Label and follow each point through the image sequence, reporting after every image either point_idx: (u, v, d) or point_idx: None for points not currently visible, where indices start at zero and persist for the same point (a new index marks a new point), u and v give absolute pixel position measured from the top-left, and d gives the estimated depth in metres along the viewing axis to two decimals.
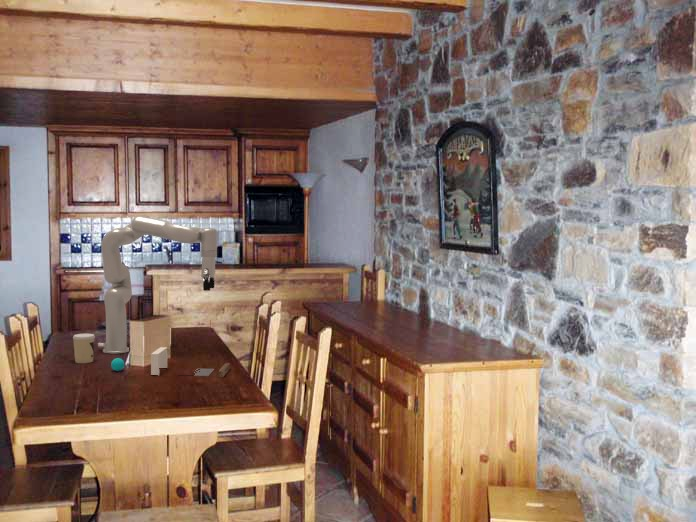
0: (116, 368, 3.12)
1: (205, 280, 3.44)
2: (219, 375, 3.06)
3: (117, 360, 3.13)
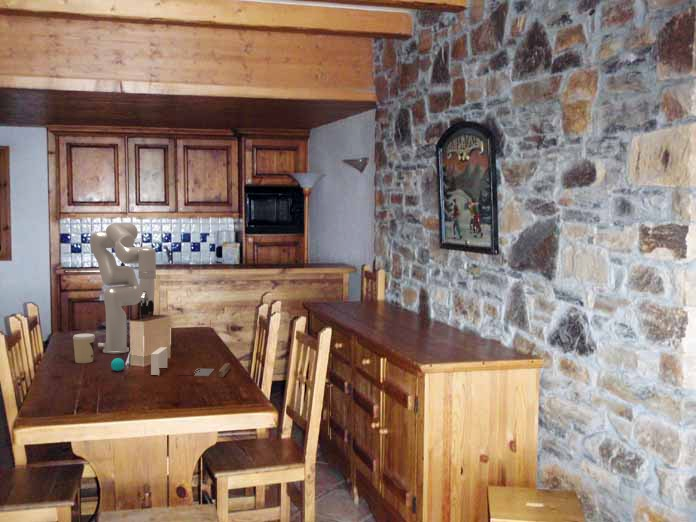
0: (116, 368, 3.12)
1: (143, 304, 3.22)
2: (219, 375, 3.06)
3: (117, 360, 3.13)
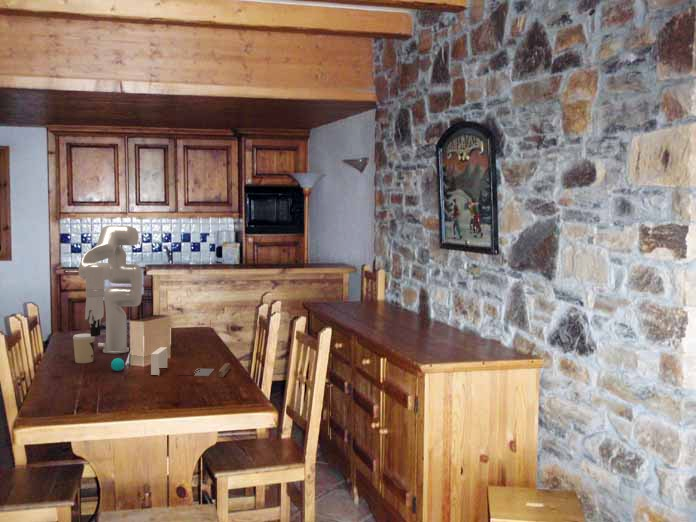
0: (116, 368, 3.12)
1: (92, 325, 3.10)
2: (219, 375, 3.06)
3: (117, 360, 3.13)
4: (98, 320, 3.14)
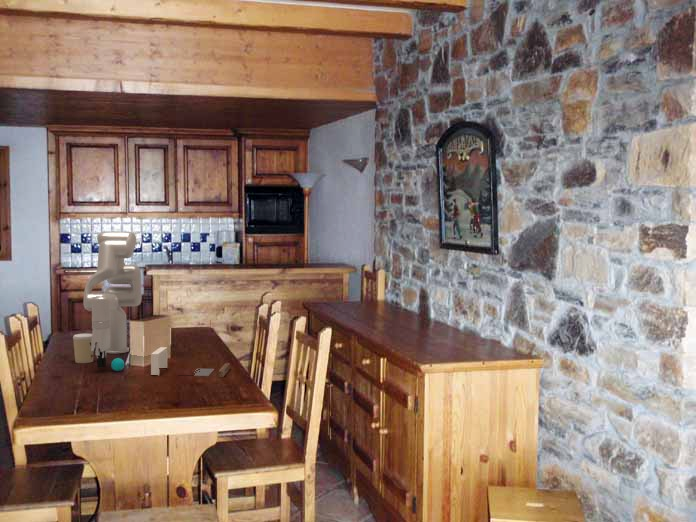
0: (116, 368, 3.12)
1: (98, 356, 3.12)
2: (219, 375, 3.06)
3: (117, 360, 3.13)
4: (104, 351, 3.15)
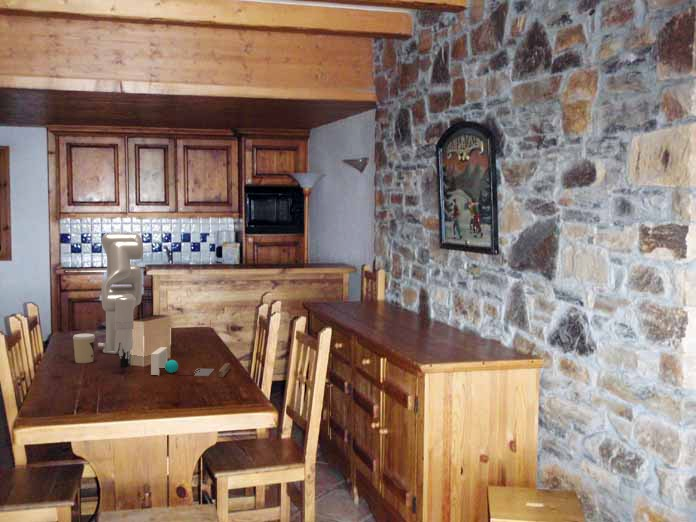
0: (166, 367, 3.10)
1: (122, 357, 3.12)
2: (219, 375, 3.06)
3: (174, 370, 3.11)
4: (127, 352, 3.15)
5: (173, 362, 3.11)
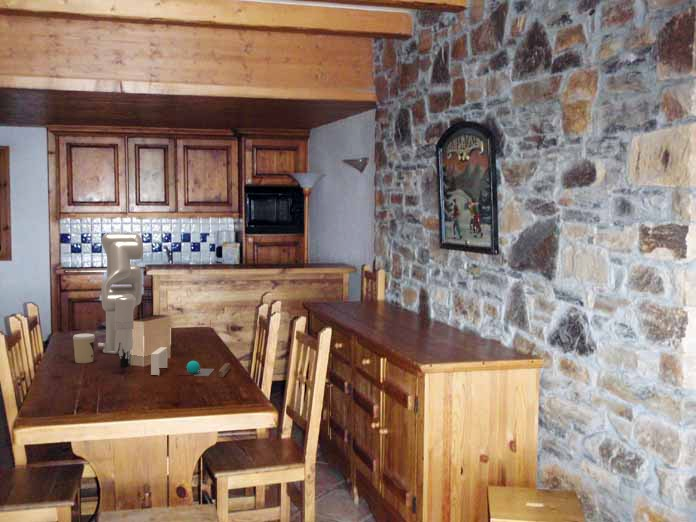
0: (194, 369, 3.09)
1: (122, 357, 3.12)
2: (219, 375, 3.06)
3: (189, 363, 3.10)
4: (127, 352, 3.15)
5: (188, 371, 3.11)
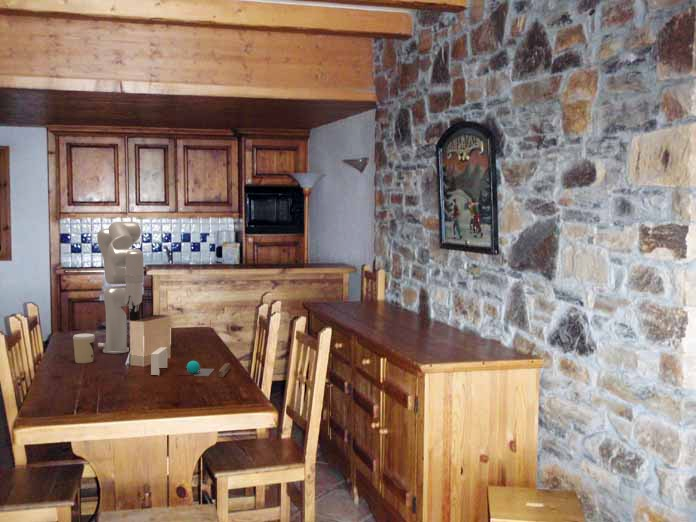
0: (194, 369, 3.09)
1: (131, 310, 3.20)
2: (219, 375, 3.06)
3: (189, 363, 3.10)
4: None
5: (188, 371, 3.11)
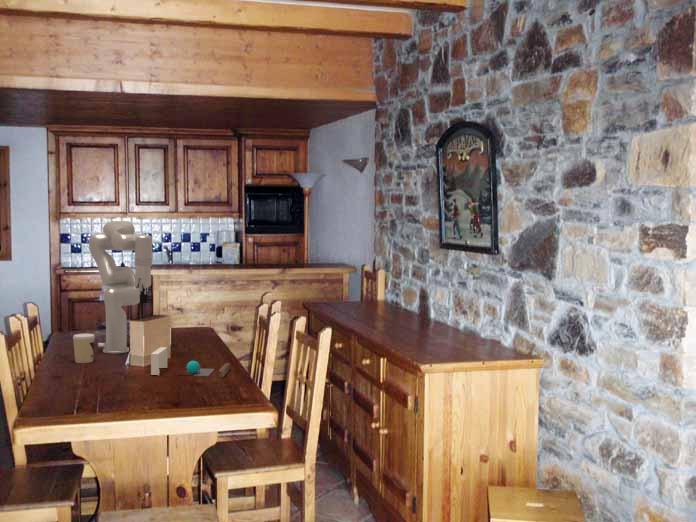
0: (194, 369, 3.09)
1: (141, 292, 3.28)
2: (219, 375, 3.06)
3: (189, 363, 3.10)
4: (146, 288, 3.30)
5: (188, 371, 3.11)
